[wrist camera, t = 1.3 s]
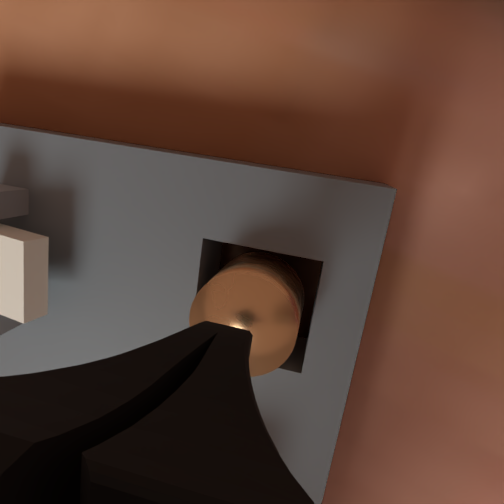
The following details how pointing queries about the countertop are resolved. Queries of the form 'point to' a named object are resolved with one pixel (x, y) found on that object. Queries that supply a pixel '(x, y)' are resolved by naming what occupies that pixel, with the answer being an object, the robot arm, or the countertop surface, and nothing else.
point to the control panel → (191, 264)
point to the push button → (255, 306)
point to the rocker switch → (23, 274)
